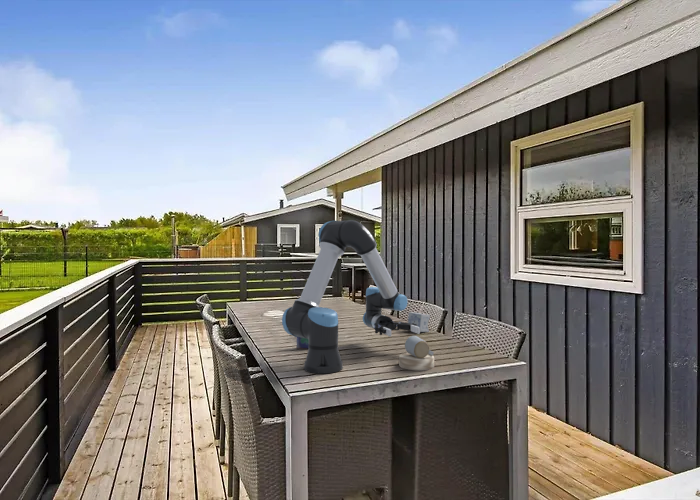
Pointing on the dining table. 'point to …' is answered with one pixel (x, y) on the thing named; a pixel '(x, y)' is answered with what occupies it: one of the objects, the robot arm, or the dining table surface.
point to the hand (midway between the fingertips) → (405, 331)
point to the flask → (302, 343)
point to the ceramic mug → (417, 347)
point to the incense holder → (419, 320)
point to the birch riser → (416, 362)
